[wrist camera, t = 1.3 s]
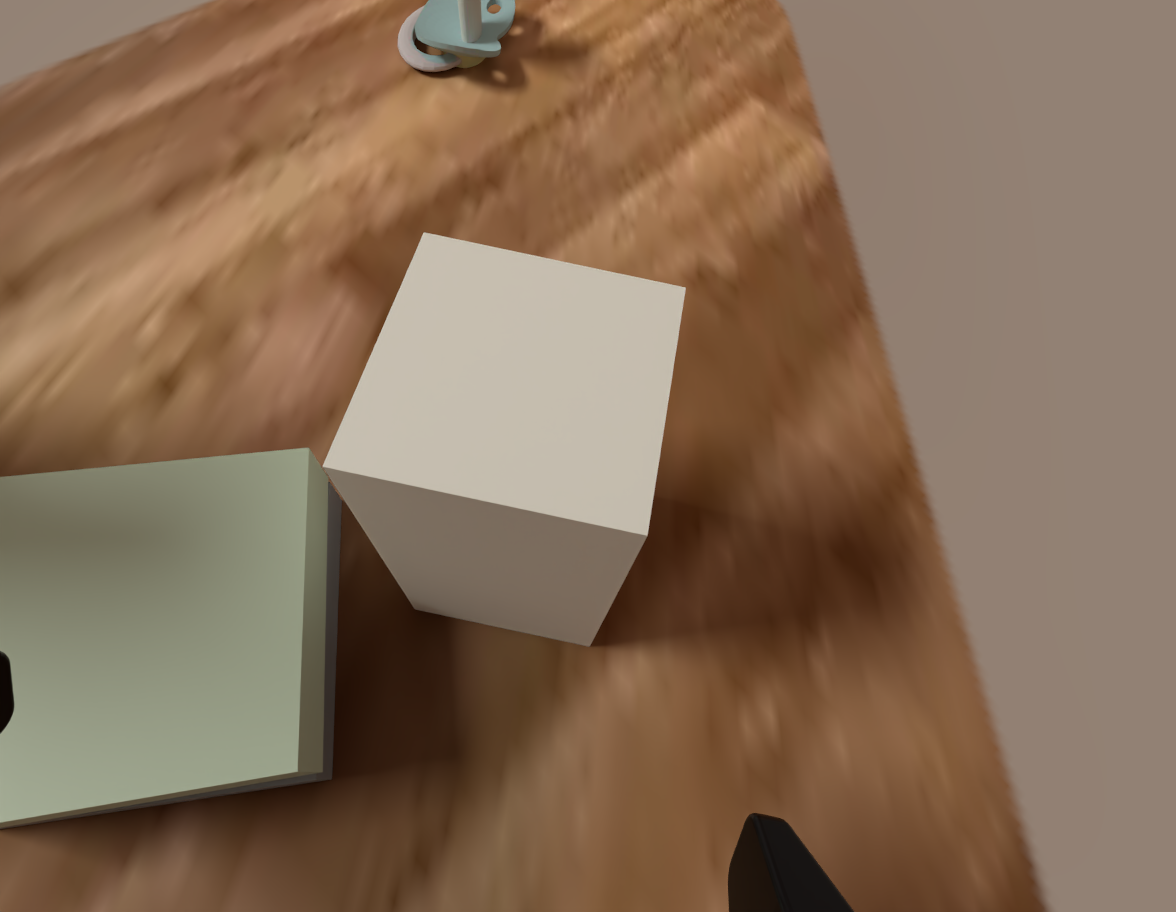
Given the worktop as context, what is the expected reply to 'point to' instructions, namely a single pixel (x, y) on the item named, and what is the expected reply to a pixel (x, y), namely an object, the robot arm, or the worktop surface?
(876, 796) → the worktop surface
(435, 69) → the pacifier
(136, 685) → the slab upper
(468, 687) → the worktop surface
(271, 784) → the slab lower
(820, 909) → the robot arm
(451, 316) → the post
